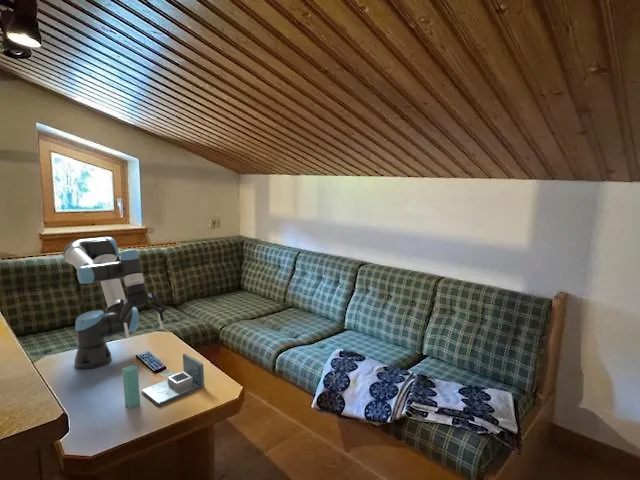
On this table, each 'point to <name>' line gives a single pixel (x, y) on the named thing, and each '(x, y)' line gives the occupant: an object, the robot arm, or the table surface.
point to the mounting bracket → (167, 373)
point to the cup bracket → (178, 383)
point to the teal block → (131, 386)
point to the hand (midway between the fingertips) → (145, 333)
